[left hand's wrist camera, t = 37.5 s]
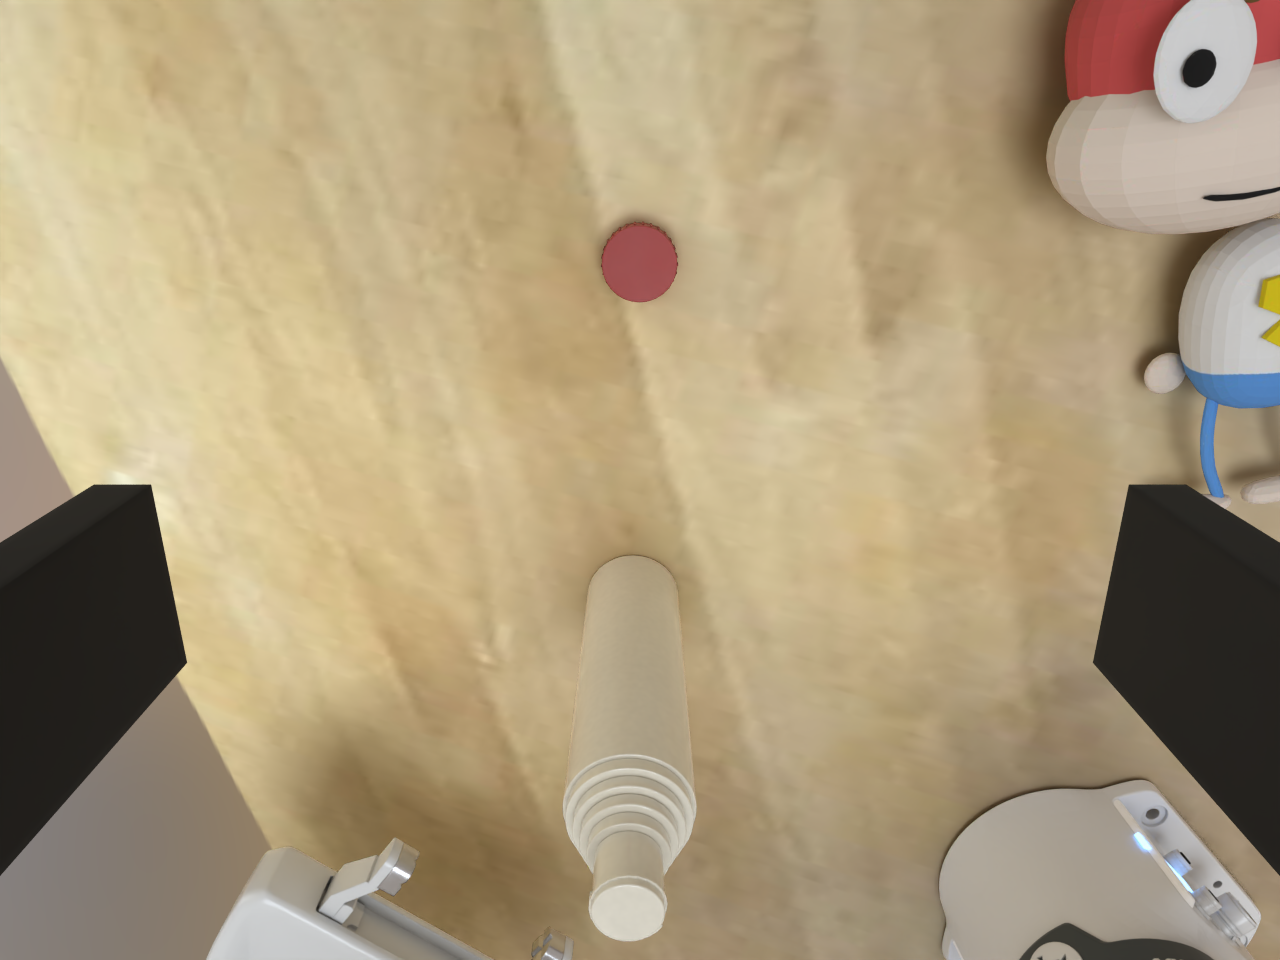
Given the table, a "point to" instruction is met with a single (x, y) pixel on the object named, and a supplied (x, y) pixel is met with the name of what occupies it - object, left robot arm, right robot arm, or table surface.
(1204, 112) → the toy
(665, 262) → the cap
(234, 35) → the table surface
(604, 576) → the bottle
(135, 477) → the table surface
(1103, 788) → the right robot arm
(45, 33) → the table surface
